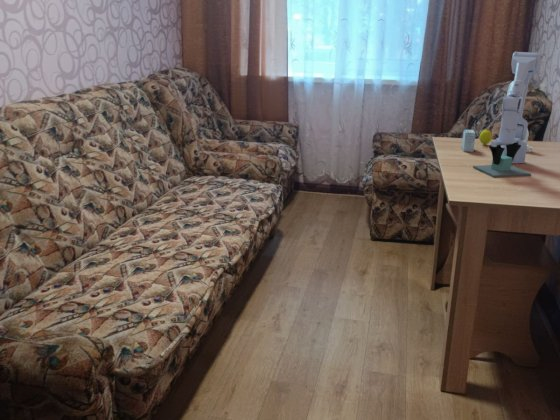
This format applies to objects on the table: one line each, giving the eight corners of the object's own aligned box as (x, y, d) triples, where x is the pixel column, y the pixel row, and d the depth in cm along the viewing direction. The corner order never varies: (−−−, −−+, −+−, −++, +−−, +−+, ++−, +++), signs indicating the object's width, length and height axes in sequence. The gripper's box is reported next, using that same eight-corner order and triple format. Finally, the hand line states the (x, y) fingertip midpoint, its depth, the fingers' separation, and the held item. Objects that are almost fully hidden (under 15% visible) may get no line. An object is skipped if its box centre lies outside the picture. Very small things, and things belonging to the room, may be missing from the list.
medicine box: (473, 152, 240) (476, 133, 237) (463, 151, 241) (465, 132, 238) (471, 148, 247) (473, 129, 244) (461, 147, 248) (463, 129, 245)
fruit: (477, 145, 253) (480, 128, 250) (478, 143, 258) (481, 126, 255) (490, 146, 251) (492, 129, 248) (491, 144, 256) (493, 127, 253)
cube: (499, 167, 213) (501, 154, 211) (510, 170, 209) (512, 157, 207) (491, 168, 210) (493, 156, 209) (501, 171, 206) (503, 159, 205)
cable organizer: (532, 151, 243) (536, 130, 240) (510, 151, 243) (514, 129, 240) (527, 149, 248) (531, 127, 245) (505, 148, 248) (509, 127, 245)
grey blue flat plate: (508, 166, 218) (508, 164, 217) (530, 175, 205) (531, 173, 204) (472, 167, 214) (473, 165, 214) (493, 177, 201) (493, 175, 201)
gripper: (511, 125, 210) (506, 158, 215) (486, 128, 203) (481, 162, 208) (527, 128, 205) (521, 162, 209) (502, 131, 198) (496, 167, 202)
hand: (502, 163), depth 208 cm, fingers open, 7 cm apart
